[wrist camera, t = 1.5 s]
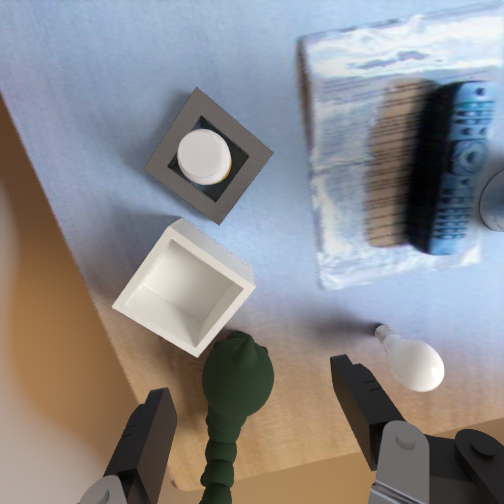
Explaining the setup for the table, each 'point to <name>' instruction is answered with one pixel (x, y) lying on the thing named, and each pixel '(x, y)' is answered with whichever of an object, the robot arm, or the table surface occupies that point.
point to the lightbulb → (411, 360)
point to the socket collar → (227, 126)
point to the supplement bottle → (204, 157)
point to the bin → (186, 288)
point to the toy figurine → (231, 406)
